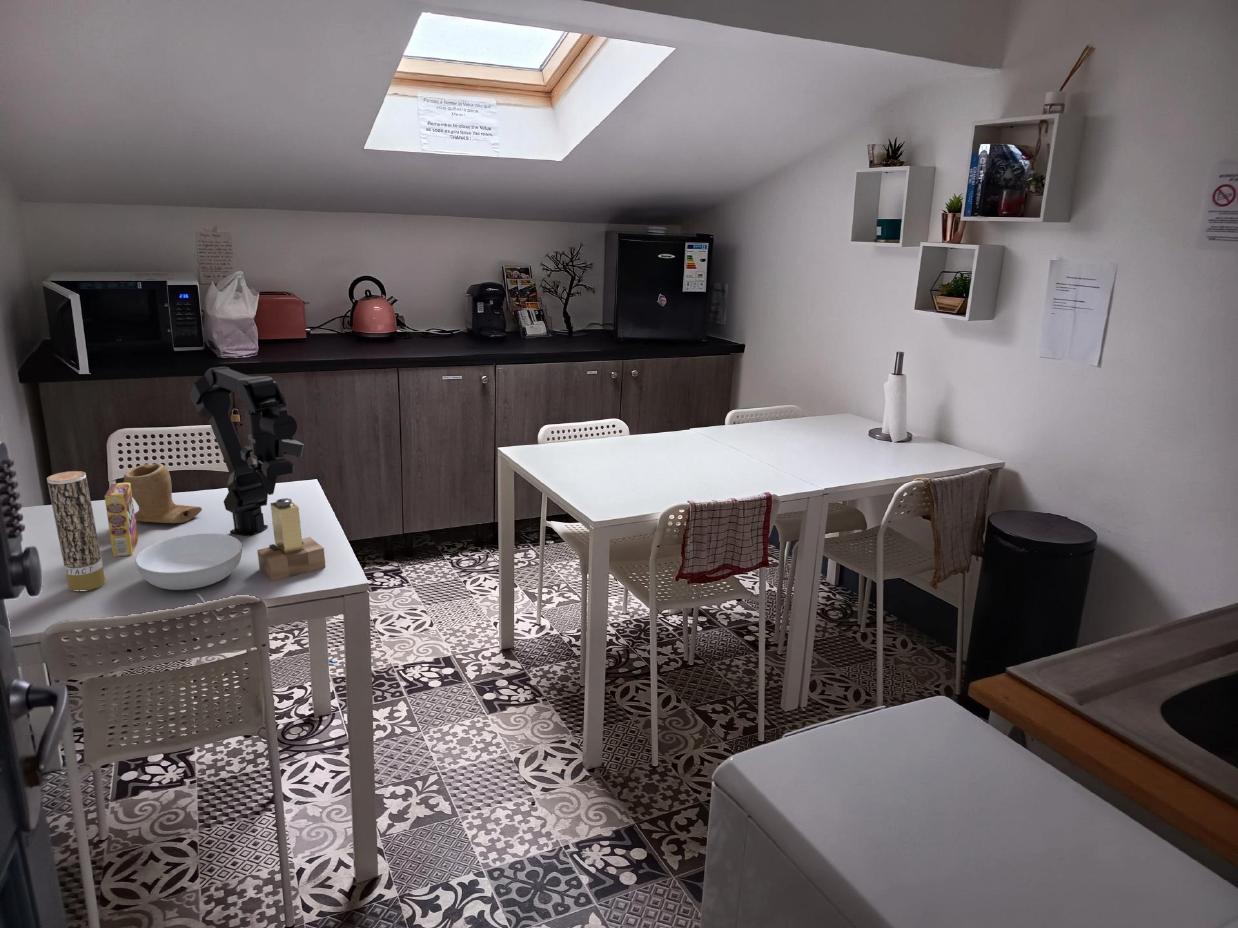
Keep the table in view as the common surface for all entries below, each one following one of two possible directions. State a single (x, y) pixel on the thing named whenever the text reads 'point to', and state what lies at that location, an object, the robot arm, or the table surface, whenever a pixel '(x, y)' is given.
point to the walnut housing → (291, 560)
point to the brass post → (286, 526)
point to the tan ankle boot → (156, 495)
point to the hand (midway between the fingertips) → (270, 494)
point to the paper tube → (76, 530)
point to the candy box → (121, 519)
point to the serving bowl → (189, 560)
